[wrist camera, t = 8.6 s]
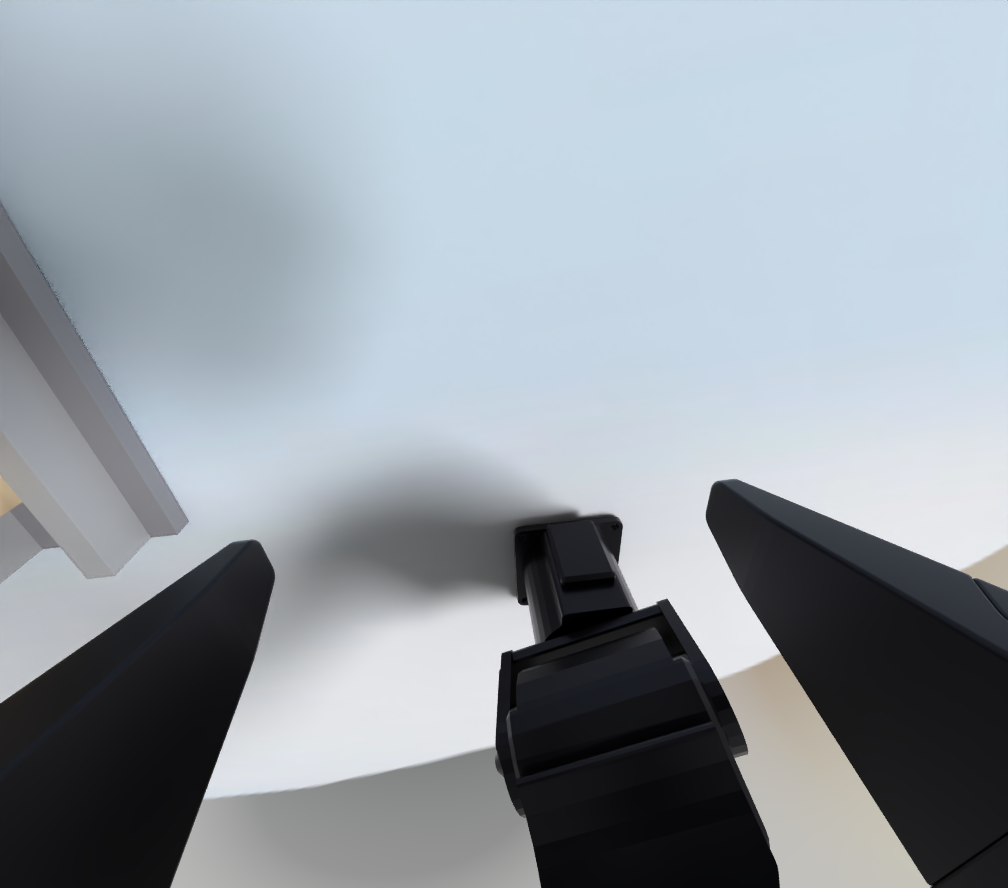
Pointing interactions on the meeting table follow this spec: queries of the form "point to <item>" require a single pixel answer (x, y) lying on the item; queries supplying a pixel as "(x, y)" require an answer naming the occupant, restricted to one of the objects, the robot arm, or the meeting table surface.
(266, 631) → the meeting table surface
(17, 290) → the door track
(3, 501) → the door panel
